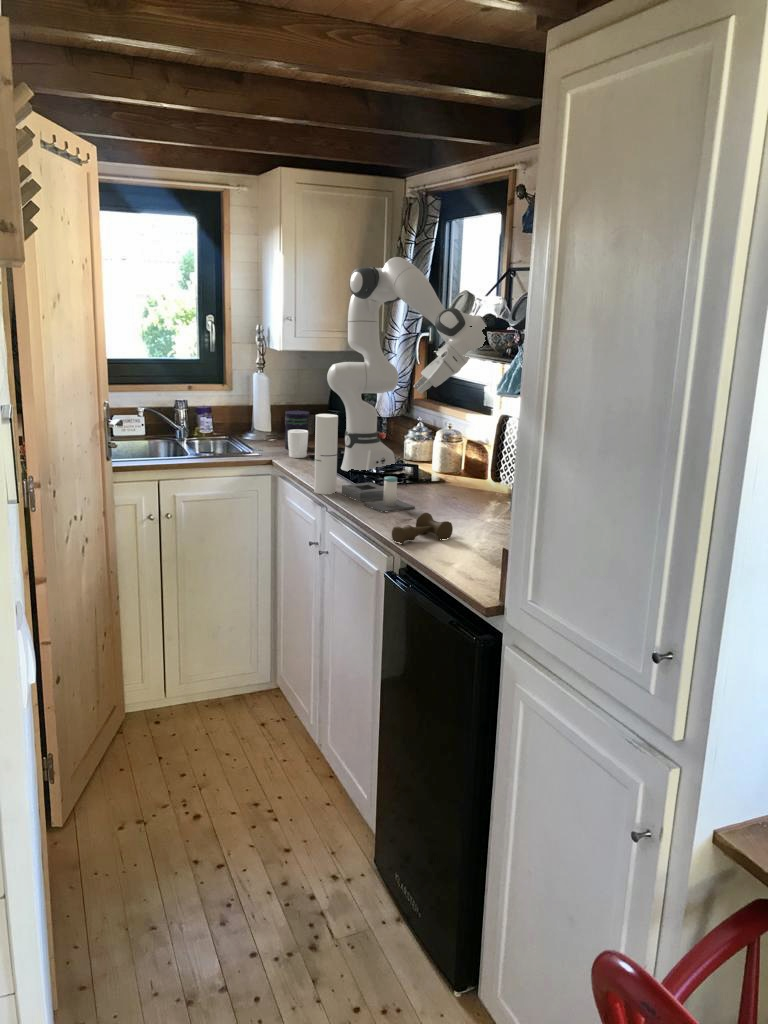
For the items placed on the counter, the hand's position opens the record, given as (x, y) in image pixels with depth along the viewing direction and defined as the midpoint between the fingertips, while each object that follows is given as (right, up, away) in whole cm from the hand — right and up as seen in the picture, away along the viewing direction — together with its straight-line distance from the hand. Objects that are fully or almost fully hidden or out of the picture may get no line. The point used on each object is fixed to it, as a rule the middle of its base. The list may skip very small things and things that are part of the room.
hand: (416, 390), depth 263 cm
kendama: (+1, -46, -35) cm, 57 cm away
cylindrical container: (-29, -32, +11) cm, 45 cm away
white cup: (-44, -17, +64) cm, 80 cm away
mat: (-8, -36, -4) cm, 38 cm away
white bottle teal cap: (-8, -36, -4) cm, 37 cm away
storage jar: (-46, -12, +79) cm, 93 cm away
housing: (-16, -33, +7) cm, 37 cm away
